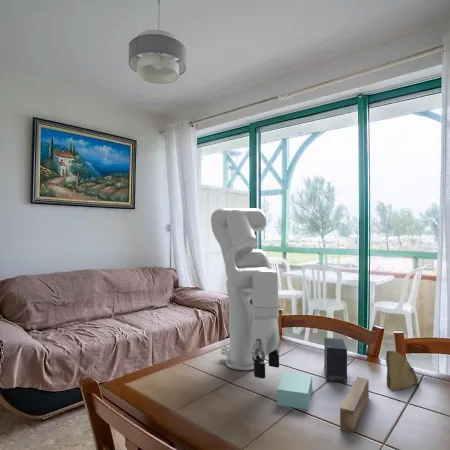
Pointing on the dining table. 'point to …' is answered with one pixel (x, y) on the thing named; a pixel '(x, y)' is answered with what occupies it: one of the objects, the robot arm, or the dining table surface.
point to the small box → (335, 360)
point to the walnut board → (354, 405)
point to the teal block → (295, 390)
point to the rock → (399, 371)
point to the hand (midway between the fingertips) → (267, 371)
